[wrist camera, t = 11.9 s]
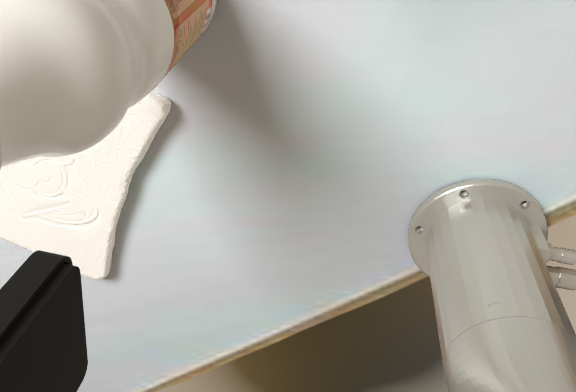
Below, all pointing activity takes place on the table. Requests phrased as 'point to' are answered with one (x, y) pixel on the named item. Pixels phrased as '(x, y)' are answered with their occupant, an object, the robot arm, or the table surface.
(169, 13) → the fruit juice
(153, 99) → the flat white fragment
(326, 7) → the table surface
